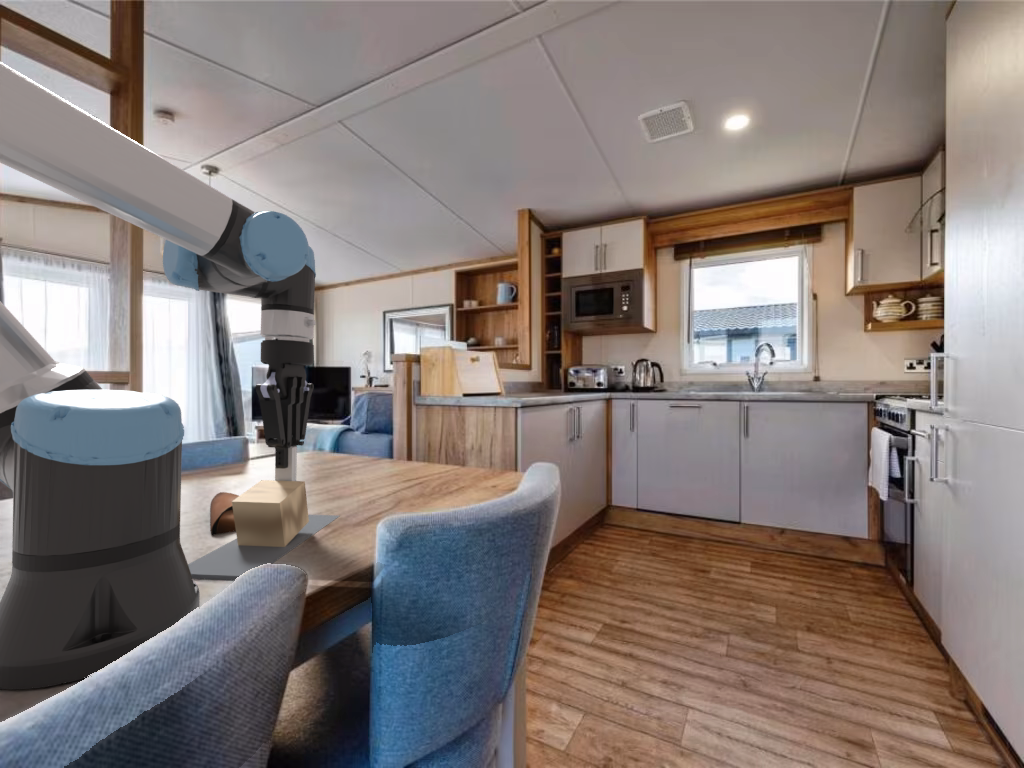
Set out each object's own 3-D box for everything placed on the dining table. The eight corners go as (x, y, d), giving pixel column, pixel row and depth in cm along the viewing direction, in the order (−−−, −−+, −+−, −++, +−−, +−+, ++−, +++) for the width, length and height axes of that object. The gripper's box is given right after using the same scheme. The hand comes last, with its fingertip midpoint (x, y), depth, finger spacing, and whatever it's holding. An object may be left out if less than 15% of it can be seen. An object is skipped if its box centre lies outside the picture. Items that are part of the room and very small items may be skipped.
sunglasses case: (273, 528, 72) (250, 497, 70) (229, 558, 68) (203, 526, 66) (261, 503, 86) (241, 476, 84) (224, 526, 83) (203, 499, 81)
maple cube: (309, 521, 70) (284, 547, 63) (266, 519, 70) (238, 545, 63) (305, 481, 68) (279, 503, 61) (261, 479, 69) (231, 501, 62)
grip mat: (253, 581, 53) (253, 576, 53) (170, 578, 54) (170, 573, 54) (340, 518, 78) (340, 515, 78) (283, 517, 78) (283, 513, 78)
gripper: (288, 336, 62) (286, 499, 63) (329, 343, 75) (327, 478, 76) (238, 335, 63) (235, 497, 63) (287, 343, 76) (285, 477, 76)
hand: (285, 487), depth 69 cm, fingers closed
